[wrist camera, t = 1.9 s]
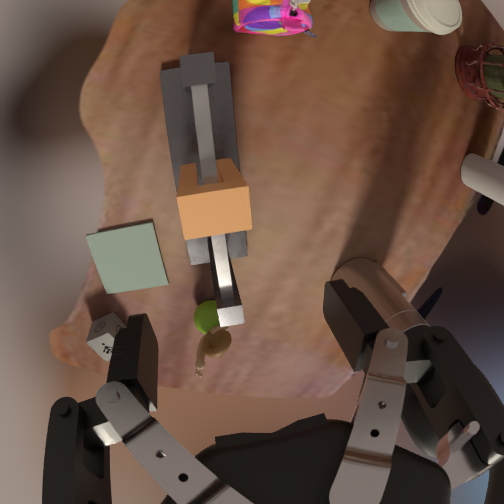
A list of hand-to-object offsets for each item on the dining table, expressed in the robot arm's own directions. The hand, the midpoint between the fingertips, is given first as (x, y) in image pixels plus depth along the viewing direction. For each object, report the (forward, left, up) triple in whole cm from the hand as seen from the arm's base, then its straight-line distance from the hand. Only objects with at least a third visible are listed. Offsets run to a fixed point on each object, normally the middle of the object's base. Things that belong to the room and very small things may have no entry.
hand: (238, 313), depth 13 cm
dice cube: (+20, +23, -27) cm, 41 cm away
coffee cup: (-27, -22, -27) cm, 44 cm away
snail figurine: (+3, +22, -27) cm, 35 cm away
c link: (0, 0, -22) cm, 22 cm away
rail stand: (0, 0, -27) cm, 27 cm away
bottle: (-48, +3, -27) cm, 55 cm away
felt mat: (+13, +11, -27) cm, 32 cm away
